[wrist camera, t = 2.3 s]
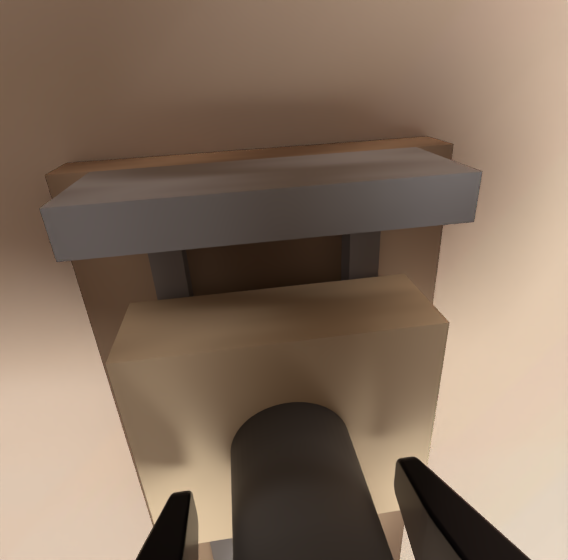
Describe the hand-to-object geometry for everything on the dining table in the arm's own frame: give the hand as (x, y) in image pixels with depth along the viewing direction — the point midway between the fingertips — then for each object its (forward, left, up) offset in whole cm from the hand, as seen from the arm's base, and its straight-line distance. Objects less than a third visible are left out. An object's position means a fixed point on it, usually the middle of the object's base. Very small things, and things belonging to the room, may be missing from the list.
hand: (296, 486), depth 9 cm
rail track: (0, -5, -6) cm, 8 cm away
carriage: (0, 0, -3) cm, 3 cm away
